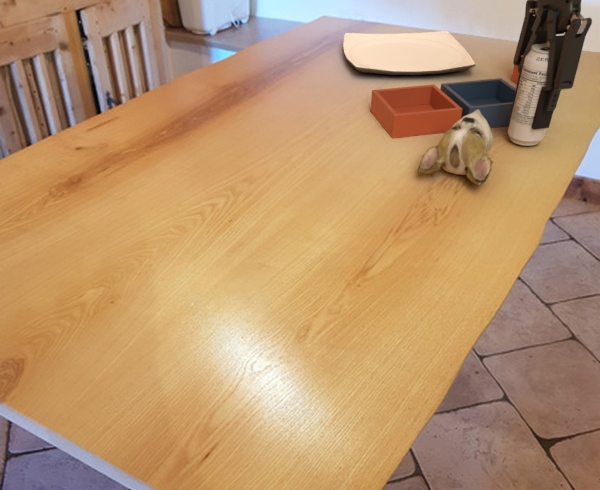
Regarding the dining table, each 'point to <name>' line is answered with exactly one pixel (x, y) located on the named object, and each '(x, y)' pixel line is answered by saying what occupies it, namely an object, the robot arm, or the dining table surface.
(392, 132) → the clay bin
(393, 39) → the plate
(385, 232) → the dining table surface
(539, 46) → the energy drink can
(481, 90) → the slate bin
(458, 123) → the ceramic sculpture
